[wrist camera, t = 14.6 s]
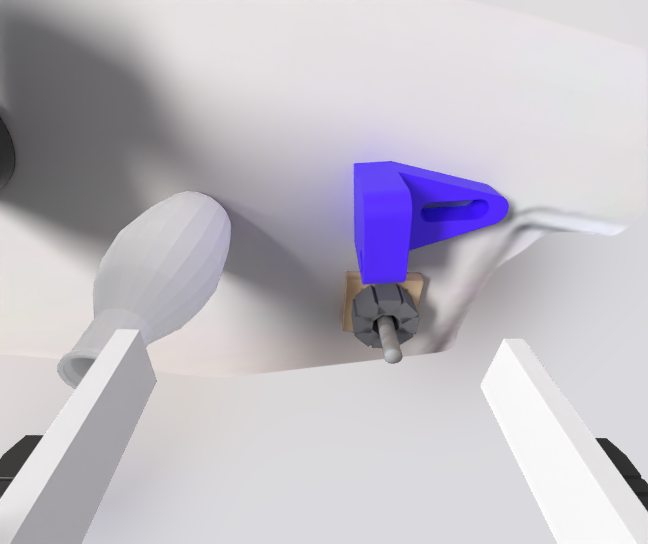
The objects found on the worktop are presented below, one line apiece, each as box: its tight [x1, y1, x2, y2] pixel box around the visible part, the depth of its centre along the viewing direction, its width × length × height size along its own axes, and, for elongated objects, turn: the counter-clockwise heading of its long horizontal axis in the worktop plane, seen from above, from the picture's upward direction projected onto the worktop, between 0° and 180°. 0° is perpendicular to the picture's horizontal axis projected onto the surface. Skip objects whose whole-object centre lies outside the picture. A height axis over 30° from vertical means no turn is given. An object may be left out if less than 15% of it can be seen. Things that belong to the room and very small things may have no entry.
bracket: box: [354, 161, 509, 285], centre depth 39 cm, size 18×11×12 cm, turn 94°
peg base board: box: [343, 272, 424, 364], centre depth 48 cm, size 11×10×12 cm
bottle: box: [57, 191, 231, 389], centre depth 35 cm, size 11×11×25 cm
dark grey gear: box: [351, 283, 419, 348], centre depth 49 cm, size 9×9×4 cm
